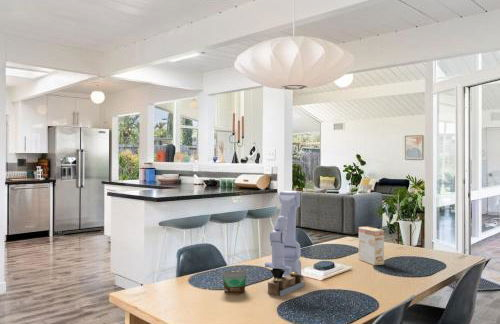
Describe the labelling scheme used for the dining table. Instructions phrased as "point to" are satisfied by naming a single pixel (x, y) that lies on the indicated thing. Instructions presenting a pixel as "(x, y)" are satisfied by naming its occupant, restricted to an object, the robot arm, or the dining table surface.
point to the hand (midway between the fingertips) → (278, 284)
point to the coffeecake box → (371, 245)
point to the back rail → (291, 288)
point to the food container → (234, 281)
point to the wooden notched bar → (283, 284)
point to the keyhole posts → (281, 278)
